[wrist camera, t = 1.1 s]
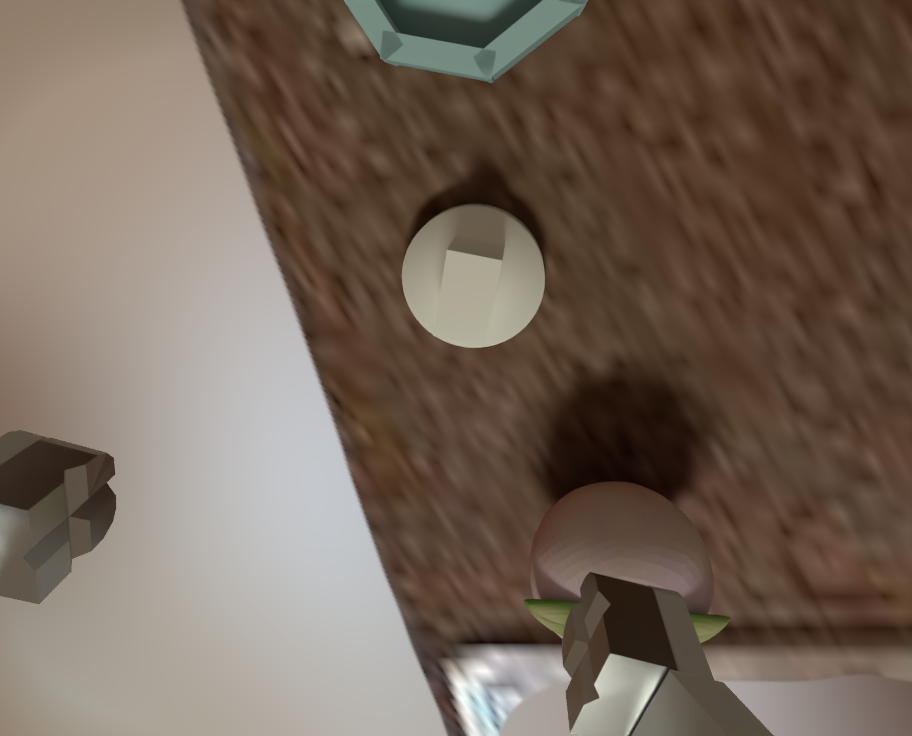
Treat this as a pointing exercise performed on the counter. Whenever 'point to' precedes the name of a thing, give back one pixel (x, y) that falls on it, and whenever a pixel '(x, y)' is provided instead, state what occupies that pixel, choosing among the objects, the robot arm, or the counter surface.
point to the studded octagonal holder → (461, 32)
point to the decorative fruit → (619, 552)
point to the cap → (474, 275)
